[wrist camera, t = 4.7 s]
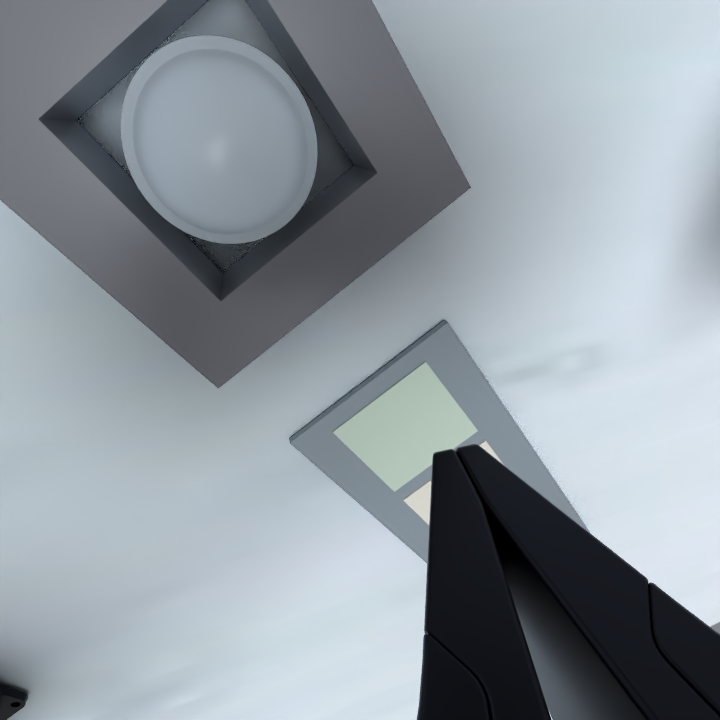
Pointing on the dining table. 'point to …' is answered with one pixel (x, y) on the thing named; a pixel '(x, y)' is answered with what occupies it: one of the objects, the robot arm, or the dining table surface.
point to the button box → (170, 244)
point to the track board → (418, 435)
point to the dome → (219, 139)
